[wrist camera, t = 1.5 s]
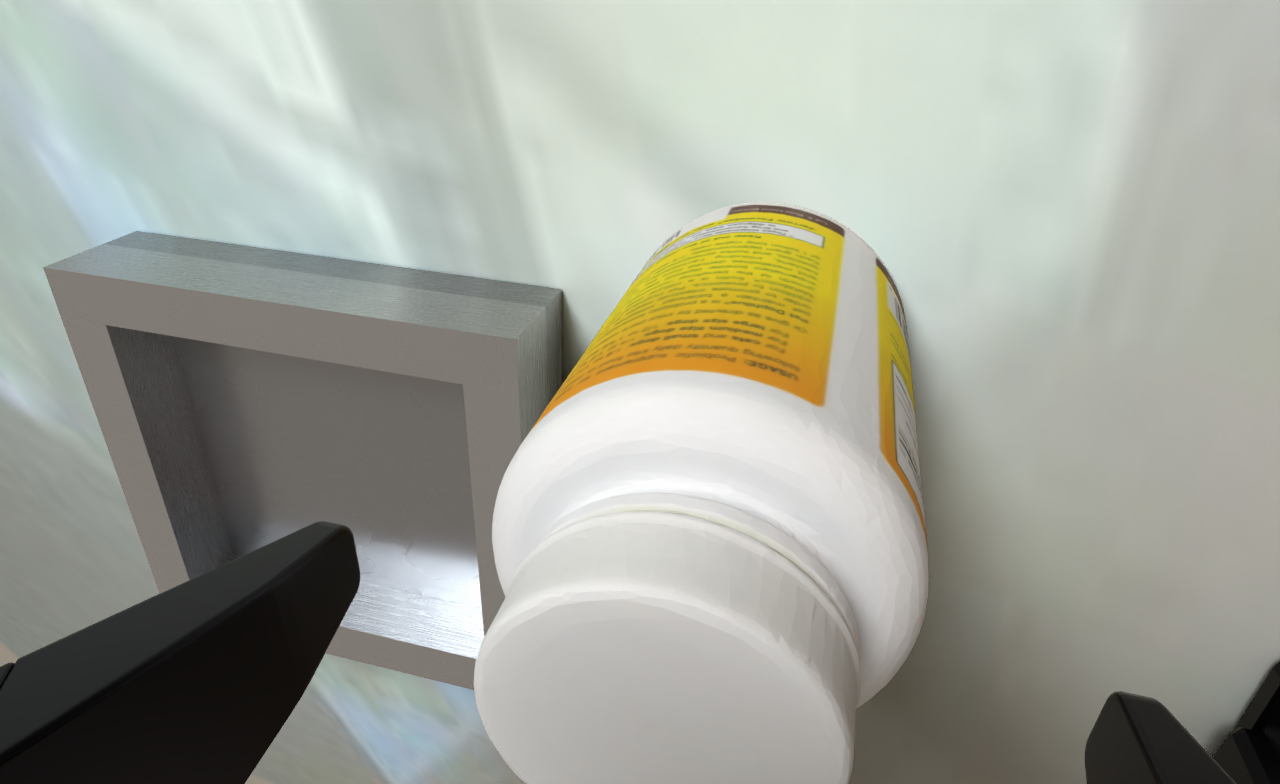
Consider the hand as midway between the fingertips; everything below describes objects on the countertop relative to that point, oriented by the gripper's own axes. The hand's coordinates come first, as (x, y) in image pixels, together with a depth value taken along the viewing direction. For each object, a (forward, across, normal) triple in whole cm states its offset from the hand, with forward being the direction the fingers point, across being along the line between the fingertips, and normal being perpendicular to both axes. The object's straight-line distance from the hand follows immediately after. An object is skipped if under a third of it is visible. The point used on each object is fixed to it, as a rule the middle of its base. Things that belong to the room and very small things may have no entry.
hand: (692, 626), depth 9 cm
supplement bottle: (+9, 0, 0) cm, 9 cm away
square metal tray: (+8, +10, +5) cm, 14 cm away
